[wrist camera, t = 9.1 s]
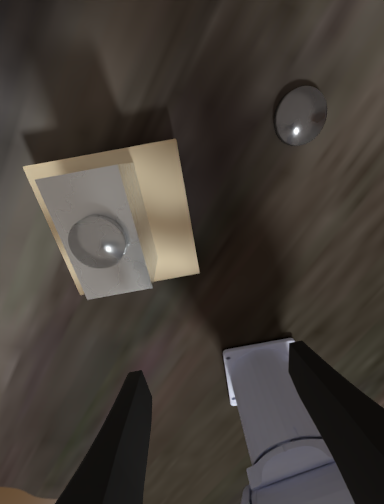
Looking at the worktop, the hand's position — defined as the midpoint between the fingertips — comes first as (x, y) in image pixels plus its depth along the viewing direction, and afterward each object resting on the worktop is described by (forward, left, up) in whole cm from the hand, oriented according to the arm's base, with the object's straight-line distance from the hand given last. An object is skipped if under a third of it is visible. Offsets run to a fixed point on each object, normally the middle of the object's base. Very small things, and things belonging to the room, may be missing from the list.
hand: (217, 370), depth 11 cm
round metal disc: (+11, -9, -11) cm, 18 cm away
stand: (+6, +5, -10) cm, 13 cm away
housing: (+6, +5, -8) cm, 12 cm away
